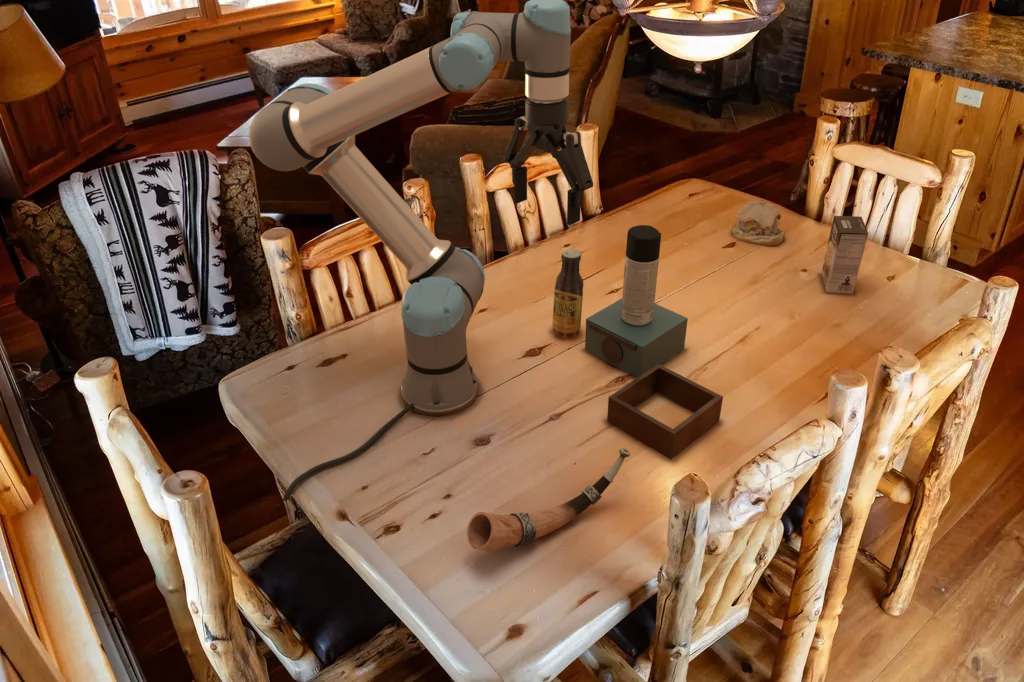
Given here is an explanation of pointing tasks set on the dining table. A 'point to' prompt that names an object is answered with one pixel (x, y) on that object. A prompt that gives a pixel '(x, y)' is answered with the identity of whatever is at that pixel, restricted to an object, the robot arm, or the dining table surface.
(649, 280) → the spray can
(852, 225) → the coffee box
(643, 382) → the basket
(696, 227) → the dining table surface
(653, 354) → the green block
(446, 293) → the robot arm
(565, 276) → the sauce bottle
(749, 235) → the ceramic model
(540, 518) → the curved blowing horn
